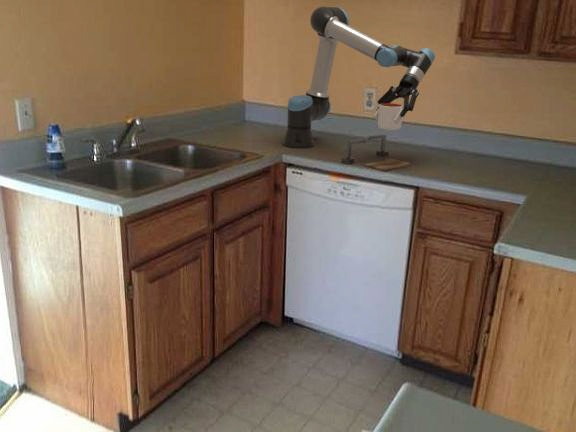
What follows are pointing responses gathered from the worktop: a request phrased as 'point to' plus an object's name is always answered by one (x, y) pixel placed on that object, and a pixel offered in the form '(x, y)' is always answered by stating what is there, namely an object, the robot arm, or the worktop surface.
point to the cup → (389, 116)
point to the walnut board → (387, 164)
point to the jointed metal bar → (380, 152)
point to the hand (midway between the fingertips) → (385, 120)
